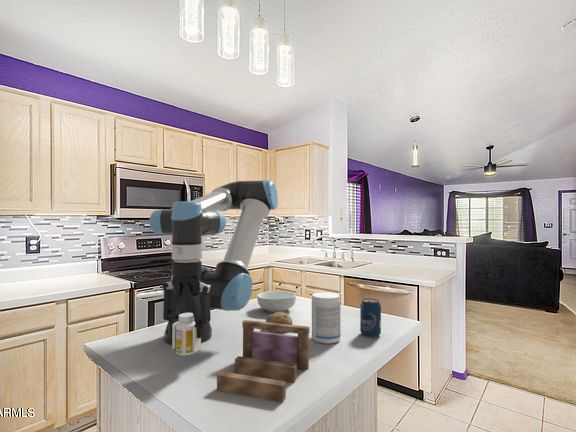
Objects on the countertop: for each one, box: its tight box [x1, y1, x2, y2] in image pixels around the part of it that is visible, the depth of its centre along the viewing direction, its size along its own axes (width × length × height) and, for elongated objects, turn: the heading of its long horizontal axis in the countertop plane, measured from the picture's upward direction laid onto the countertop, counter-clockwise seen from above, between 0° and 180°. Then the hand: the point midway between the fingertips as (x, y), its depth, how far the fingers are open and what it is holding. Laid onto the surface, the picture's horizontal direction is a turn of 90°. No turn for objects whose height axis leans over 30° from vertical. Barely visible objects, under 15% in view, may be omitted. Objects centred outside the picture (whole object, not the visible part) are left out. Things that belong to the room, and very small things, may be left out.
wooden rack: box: [216, 319, 311, 403], centre depth 82 cm, size 19×19×11 cm
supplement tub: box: [311, 292, 342, 345], centre depth 109 cm, size 10×10×15 cm
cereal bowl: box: [256, 290, 297, 313], centre depth 143 cm, size 17×17×7 cm
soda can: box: [359, 298, 382, 339], centre depth 113 cm, size 7×7×12 cm
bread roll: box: [265, 311, 293, 334], centre depth 119 cm, size 10×10×8 cm
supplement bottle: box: [175, 313, 196, 356], centre depth 86 cm, size 5×5×10 cm
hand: (186, 348), depth 86 cm, fingers closed on supplement bottle, 5 cm apart
